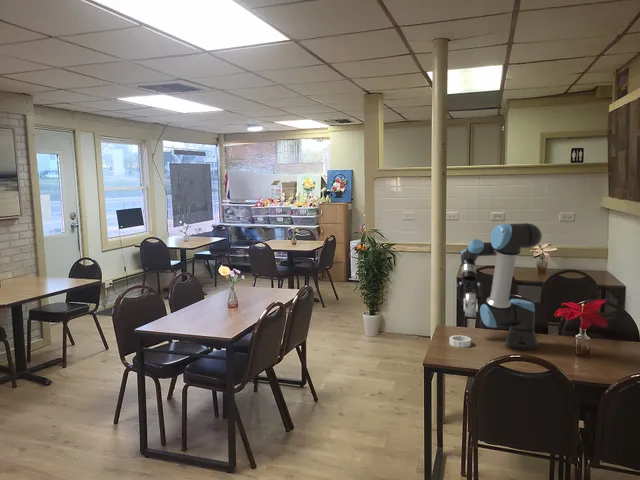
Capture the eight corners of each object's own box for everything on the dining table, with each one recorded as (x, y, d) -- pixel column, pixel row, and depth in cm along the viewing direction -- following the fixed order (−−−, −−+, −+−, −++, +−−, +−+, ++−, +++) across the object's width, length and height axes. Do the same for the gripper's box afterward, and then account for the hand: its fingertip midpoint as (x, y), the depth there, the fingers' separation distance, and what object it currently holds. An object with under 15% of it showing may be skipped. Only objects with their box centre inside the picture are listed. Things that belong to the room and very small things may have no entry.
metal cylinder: (477, 316, 257) (478, 293, 255) (469, 317, 254) (470, 294, 253) (470, 313, 262) (470, 292, 260) (462, 315, 259) (462, 293, 258)
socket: (475, 345, 247) (475, 339, 247) (459, 348, 243) (459, 342, 243) (461, 339, 257) (461, 334, 257) (445, 342, 252) (445, 337, 252)
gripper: (485, 278, 269) (488, 314, 255) (451, 277, 273) (452, 313, 259) (486, 270, 263) (489, 307, 249) (451, 269, 267) (452, 306, 253)
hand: (470, 310), depth 254 cm, fingers closed on metal cylinder, 5 cm apart
